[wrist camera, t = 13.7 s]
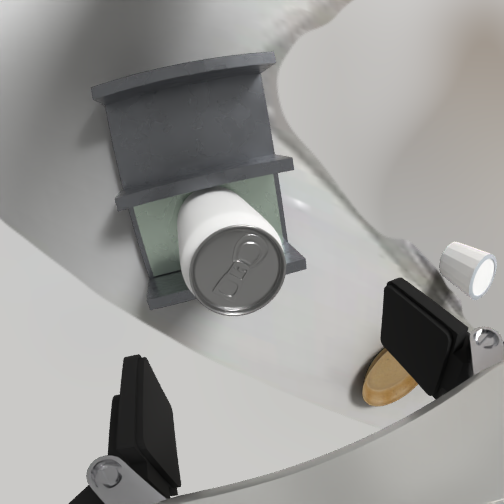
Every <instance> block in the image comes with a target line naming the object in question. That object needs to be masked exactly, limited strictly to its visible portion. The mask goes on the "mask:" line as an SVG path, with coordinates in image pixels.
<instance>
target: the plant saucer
mask: <svg viewBox="0 0 504 504" xmlns="http://www.w3.org/2000/svg"><path fill="white" fill-rule="evenodd" d="M417 385H418V383H417V382H416V381H415V380H414V379H413V378H412V377H411V375H410V374H409V373H408V372H407V371H406V370H405V369H404V368H403V367H402V366H401V365H400V363H399V362H398V361H397V360H396V359H395V358H394V357H393V356H392V355H391V354H390V353H389V352H388V351H387V349H386V348H384V349H383V350H382V351H381V352H380V353H379V354H378V355H377V356H376V357H375V359H374V360H373V362H372V363H371V365H370V367H369V369H368V371H367V373H366V376H365V379H364V383H363V389H362V395H363V399H364V401H365V402H366V403H367V404H369V405H371V406H384V405H388V404H390V403H393V402H395V401H397V400H399V399H401V398H402V397H404V396H405V395H407V394H408V393H409V392H410V391H412V390H413V389H414V388H415V387H416V386H417Z"/></svg>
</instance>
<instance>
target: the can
mask: <svg viewBox="0 0 504 504" xmlns="http://www.w3.org/2000/svg"><path fill="white" fill-rule="evenodd" d="M177 231H178V245H179V256H180V265H181V271H182V275H183V278H184V281H185V283H186V285H187V287H188V288H189V290H190V291H191V292H192V293H193V295H194V296H196V298H197V299H198V300H199V302H200V303H201V304H202V305H204V306H205V307H206V308H208V309H209V310H211V311H213V312H215V313H218V314H222V315H227V316H240V315H246V314H249V313H252V312H255V311H257V310H259V309H261V308H262V307H264V306H265V305H267V304H268V303H269V302H270V301H271V300H272V299H273V298H274V297H275V296H276V294H277V293H278V292H279V290H280V288H281V286H282V284H283V281H284V278H285V274H286V259H285V255H284V251H283V246H282V242H281V240H280V238H279V236H278V234H277V232H276V231H275V229H274V228H273V227H272V226H271V225H270V224H269V222H268V221H267V220H265V219H264V218H263V217H262V216H261V215H260V214H259V213H258V212H257V211H256V210H255V209H253V208H252V207H251V206H250V205H249V204H248V203H247V202H246V201H244V200H243V199H242V198H241V197H240V196H239V195H237V194H236V193H235V192H233V191H231V190H229V189H226V188H223V187H219V186H214V187H209V188H205V189H201V190H197V191H194V192H193V193H192V194H190V195H189V196H188V197H187V198H186V199H185V201H184V202H183V204H182V205H181V207H180V210H179V213H178V218H177Z"/></svg>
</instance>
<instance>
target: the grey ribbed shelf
mask: <svg viewBox="0 0 504 504" xmlns="http://www.w3.org/2000/svg"><path fill="white" fill-rule="evenodd" d="M275 63H276V59H275V54H274V52H261V53H250V54H241V55H232V56H224V57H217V58H211V59H204V60H198V61H193V62H187V63H182V64H177V65H172V66H167V67H163V68H159V69H154V70H150V71H146V72H142V73H138V74H134V75H131V76H127V77H123V78H120V79H117V80H113V81H110V82H107V83H103V84H100V85H97V86H94V87H91V90H92V97H93V100H95V101H97V102H99V103H101V104H103V105H105V107H106V113H107V118H108V123H109V128H110V133H111V138H112V143H113V148H114V152H115V157H116V161H117V165H118V170H119V174H120V178H121V182H122V186H123V190H122V191H121V192H120V193H119V195H118V196H117V197H116V198H115V202H116V205H117V209H118V211H121V210H124V209H129V213H130V216H131V220H132V223H133V227H134V230H135V234H136V237H137V240H138V244H139V247H140V250H141V253H142V257H143V260H144V263H145V266H146V269H147V272H148V275H149V285H148V294H147V302H148V305H149V308H150V310H154V309H158V308H162V307H166V306H170V305H174V304H178V303H181V302H185V301H189V300H193V299H197V298H196V296H194V295H193V293H192V292H191V291H190V290H189V288H188V287H187V285H186V283H185V281H184V278H183V275H182V271H181V265H180V256H179V245H178V231H177V218H178V213H179V210H180V207H181V205H182V204H183V202H184V201H185V199H186V198H187V197H188V196H189V195H190V194H192V193H193V192H194V191H197V190H201V189H205V188H209V187H214V186H219V187H223V188H226V189H229V190H231V191H233V192H235V193H236V194H237V195H239V196H240V197H241V198H242V199H243V200H244V201H246V202H247V203H248V204H249V205H250V206H251V207H252V208H253V209H255V210H256V211H257V212H258V213H259V214H260V215H261V216H262V217H263V218H264V219H265V220H267V221H268V222H269V224H270V225H271V226H272V227H273V228H274V229H275V231H276V232H277V234H278V236H279V238H280V240H281V242H282V246H283V251H284V255H285V259H286V274H290V273H293V272H297V271H300V270H304V269H306V260H305V258H304V257H303V256H302V255H301V254H300V253H299V252H298V251H297V250H296V249H295V248H293V247H292V246H291V245H290V244H289V243H288V240H287V233H286V226H285V219H284V212H283V205H282V198H281V192H280V185H279V179H278V173H280V172H285V171H290V170H294V166H293V159H292V157H286V156H281V155H276V154H275V153H274V147H273V141H272V135H271V129H270V123H269V117H268V112H267V106H266V100H265V95H264V89H263V84H262V78H261V73H262V72H263V71H265V70H266V69H268V68H269V67H271V66H272V65H274V64H275ZM286 274H285V275H286Z"/></svg>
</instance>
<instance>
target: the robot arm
mask: <svg viewBox="0 0 504 504" xmlns="http://www.w3.org/2000/svg"><path fill="white" fill-rule="evenodd" d="M467 331H468V327H467V326H466V325H464V324H463V323H462V322H460V321H459V320H458V319H457V318H455V317H454V316H453V315H451V314H450V313H449V312H448V311H446V310H445V309H444V308H442V307H441V306H440V305H438V304H437V303H436V302H434V301H433V300H432V299H430V298H429V297H428V296H426V295H425V294H424V293H422V292H421V291H419V290H418V289H417V288H415V287H414V286H413V285H411V284H410V283H408V282H407V281H406V280H404V279H403V278H397V279H394V280H392V281H389V282H388V283H387V286H386V287H385V288H384V301H383V315H382V327H381V343H382V345H383V346H384V347H385V348H386V349H387V351H388V352H389V353H390V354H391V355H392V356H393V357H394V358H395V359H396V360H397V361H398V362H399V363H400V365H401V366H402V367H403V368H404V369H405V370H406V371H407V372H408V373H409V374H410V375H411V377H412V378H413V379H414V380H415V381H416V382H417V383H418V384H419V385H420V387H421V388H422V389H423V390H424V391H425V392H426V393H427V394H428V395H429V396H433V397H434V398H435V399H436V400H434V401H433V402H431V403H429V404H428V405H426V406H424V407H423V408H421V409H419V410H417V411H416V412H414V413H412V414H410V415H409V416H407V417H405V418H403V419H401V420H399V421H397V422H395V423H393V424H392V425H390V426H388V427H386V428H384V429H382V430H380V431H378V432H376V433H374V434H371V435H369V436H367V437H365V438H363V439H361V440H359V441H356V442H354V443H352V444H349V445H347V446H345V447H343V448H340V449H338V450H335V451H333V452H330V453H328V454H325V455H323V456H320V457H317V458H315V459H312V460H310V461H307V462H304V463H301V464H298V465H296V466H292V467H289V468H286V469H283V470H280V471H277V472H274V473H270V474H267V475H263V476H260V477H256V478H253V479H249V480H245V481H242V482H238V483H234V484H230V485H226V486H221V487H218V488H213V489H208V490H203V491H199V492H195V493H190V494H185V495H181V496H177V497H174V498H170V496H175V495H178V493H177V487H181V480H180V473H179V465H178V458H177V450H176V441H175V431H174V422H173V412H172V408H171V405H170V403H169V401H168V399H167V397H166V396H165V394H164V392H163V390H162V388H161V386H160V384H159V382H158V380H157V378H156V377H155V374H154V372H153V370H152V368H151V366H150V364H149V362H148V360H147V358H146V357H143V358H142V357H141V356H140V355H139V354H138V355H133V356H129V357H125V358H124V361H123V369H122V379H121V388H120V395H115V396H114V397H113V400H112V409H111V419H110V430H109V444H108V445H109V446H108V455H107V456H103V457H99V458H98V459H96V460H94V461H93V463H91V465H90V466H89V468H88V470H87V475H86V476H87V482H88V484H89V485H88V486H87V487H86V488H85V489H84V490H83V491H82V492H81V493H80V494H79V495H77V496H76V497H75V499H73V500H72V501H71V502H70V503H69V504H504V342H503V340H502V337H501V335H500V334H499V333H498V332H497V331H495V330H494V329H492V328H489V327H478V328H475V329H474V330H473V331H472V332H471V334H470V333H468V332H467Z"/></svg>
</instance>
